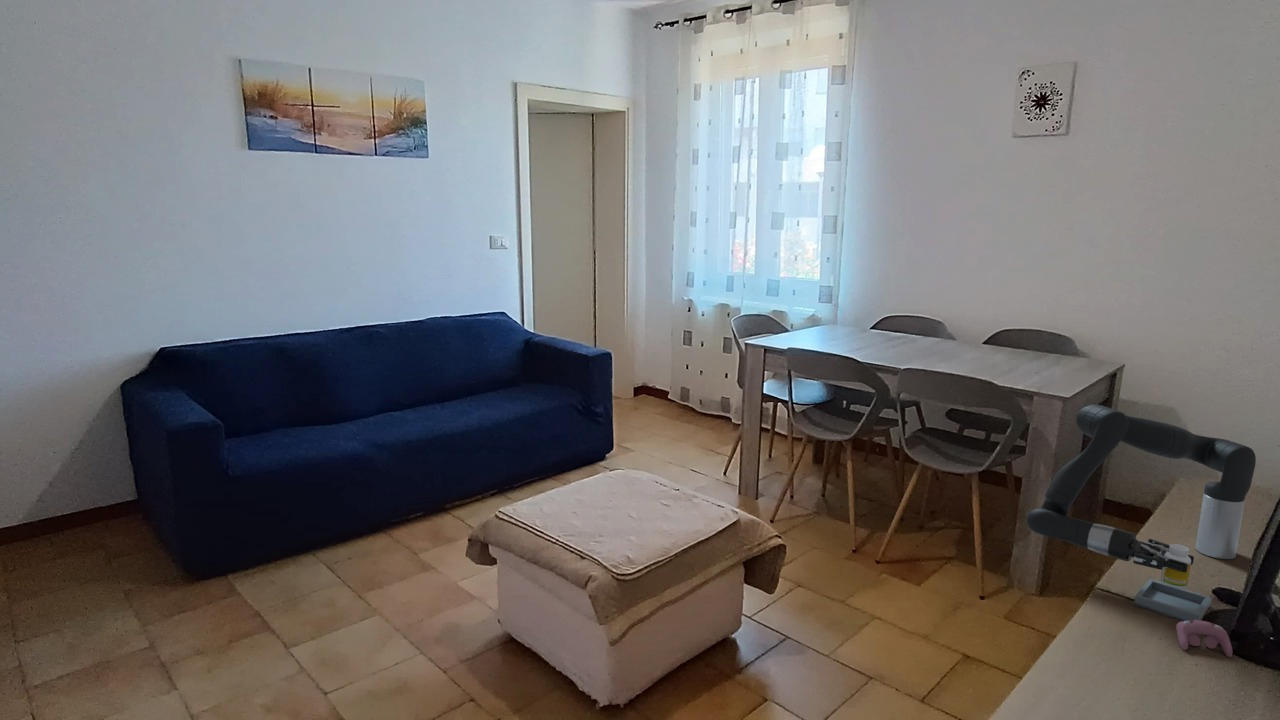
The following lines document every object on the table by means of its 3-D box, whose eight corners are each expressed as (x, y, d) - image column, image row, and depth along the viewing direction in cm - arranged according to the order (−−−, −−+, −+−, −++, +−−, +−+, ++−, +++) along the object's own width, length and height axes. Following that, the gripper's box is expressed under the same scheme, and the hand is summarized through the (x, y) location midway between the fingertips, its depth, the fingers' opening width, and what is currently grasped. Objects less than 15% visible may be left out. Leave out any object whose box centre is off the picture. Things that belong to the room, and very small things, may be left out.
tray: (1148, 587, 191) (1149, 578, 190) (1209, 606, 181) (1211, 597, 181) (1133, 604, 182) (1135, 595, 182) (1197, 625, 173) (1199, 616, 172)
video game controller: (1225, 656, 163) (1223, 623, 165) (1235, 658, 159) (1233, 624, 161) (1174, 648, 166) (1172, 616, 168) (1182, 650, 162) (1180, 617, 164)
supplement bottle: (1191, 589, 178) (1197, 553, 176) (1166, 587, 179) (1172, 550, 177) (1180, 579, 183) (1186, 543, 181) (1156, 577, 184) (1162, 541, 182)
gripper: (1104, 536, 185) (1185, 559, 172) (1121, 520, 194) (1199, 541, 182) (1100, 563, 186) (1180, 588, 174) (1117, 547, 195) (1194, 569, 183)
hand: (1190, 564), depth 178 cm, fingers closed on supplement bottle, 5 cm apart
